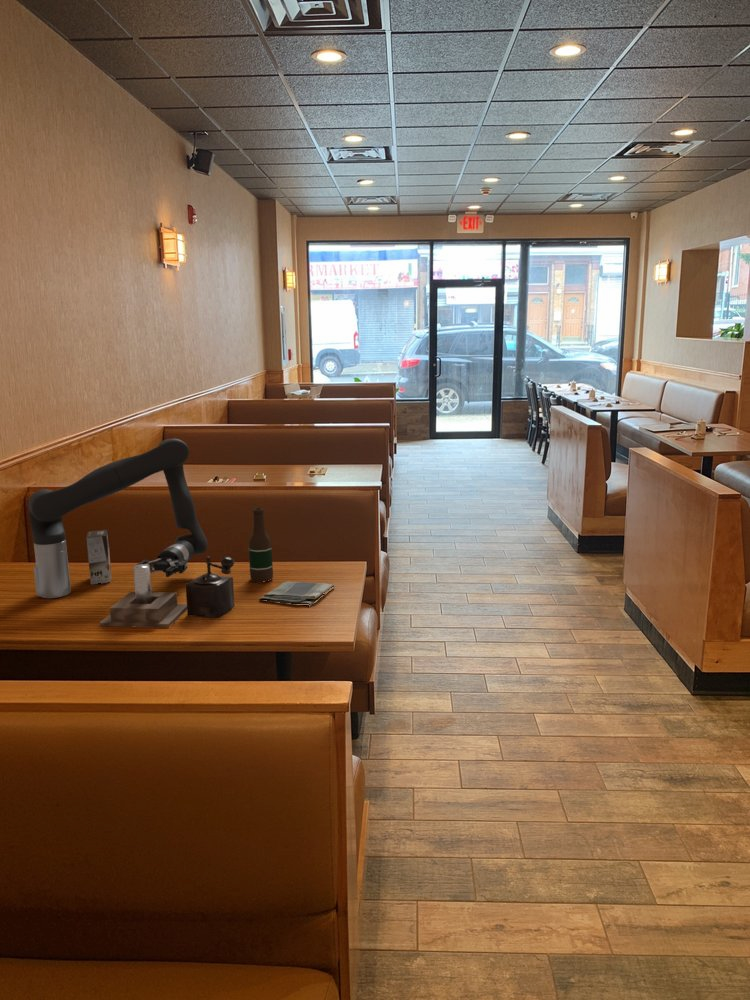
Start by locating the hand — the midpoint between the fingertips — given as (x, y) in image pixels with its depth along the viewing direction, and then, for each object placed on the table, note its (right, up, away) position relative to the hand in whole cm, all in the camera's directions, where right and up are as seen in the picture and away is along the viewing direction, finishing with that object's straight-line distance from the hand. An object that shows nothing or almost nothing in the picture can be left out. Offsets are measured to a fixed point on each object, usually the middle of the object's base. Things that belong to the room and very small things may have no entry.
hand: (153, 573), depth 224 cm
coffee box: (-26, -5, +30) cm, 40 cm away
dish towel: (+42, -9, +11) cm, 44 cm away
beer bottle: (+28, -5, +27) cm, 39 cm away
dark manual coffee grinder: (+20, -11, -3) cm, 23 cm away
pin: (-1, -11, -6) cm, 12 cm away
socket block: (-1, -12, -5) cm, 13 cm away
